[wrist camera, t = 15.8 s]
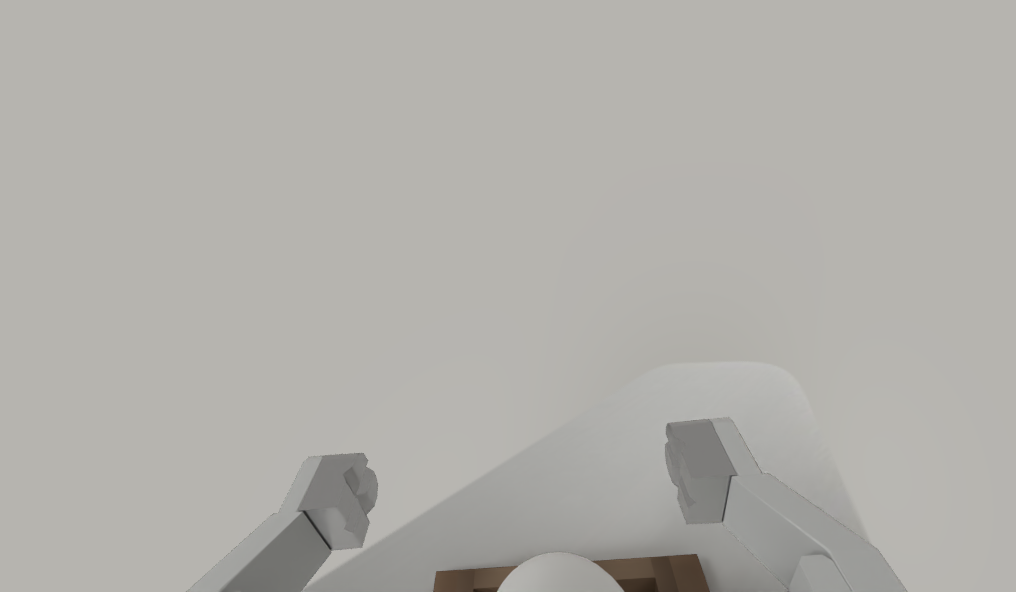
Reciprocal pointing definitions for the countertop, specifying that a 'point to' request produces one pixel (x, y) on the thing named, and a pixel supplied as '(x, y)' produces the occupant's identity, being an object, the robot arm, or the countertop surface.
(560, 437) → the countertop surface
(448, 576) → the brown rimmed tray
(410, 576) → the countertop surface
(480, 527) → the countertop surface
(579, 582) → the lightbulb
